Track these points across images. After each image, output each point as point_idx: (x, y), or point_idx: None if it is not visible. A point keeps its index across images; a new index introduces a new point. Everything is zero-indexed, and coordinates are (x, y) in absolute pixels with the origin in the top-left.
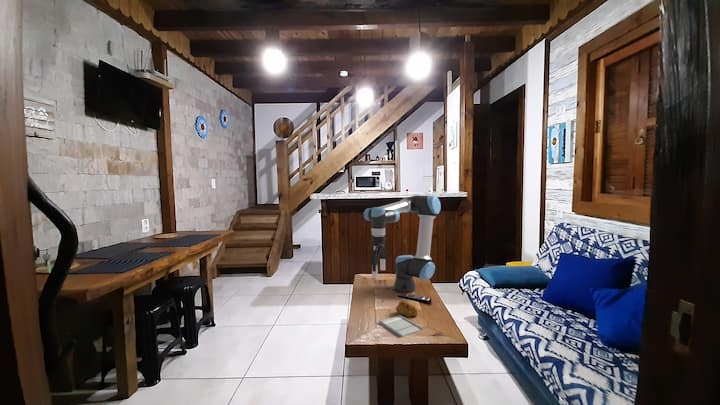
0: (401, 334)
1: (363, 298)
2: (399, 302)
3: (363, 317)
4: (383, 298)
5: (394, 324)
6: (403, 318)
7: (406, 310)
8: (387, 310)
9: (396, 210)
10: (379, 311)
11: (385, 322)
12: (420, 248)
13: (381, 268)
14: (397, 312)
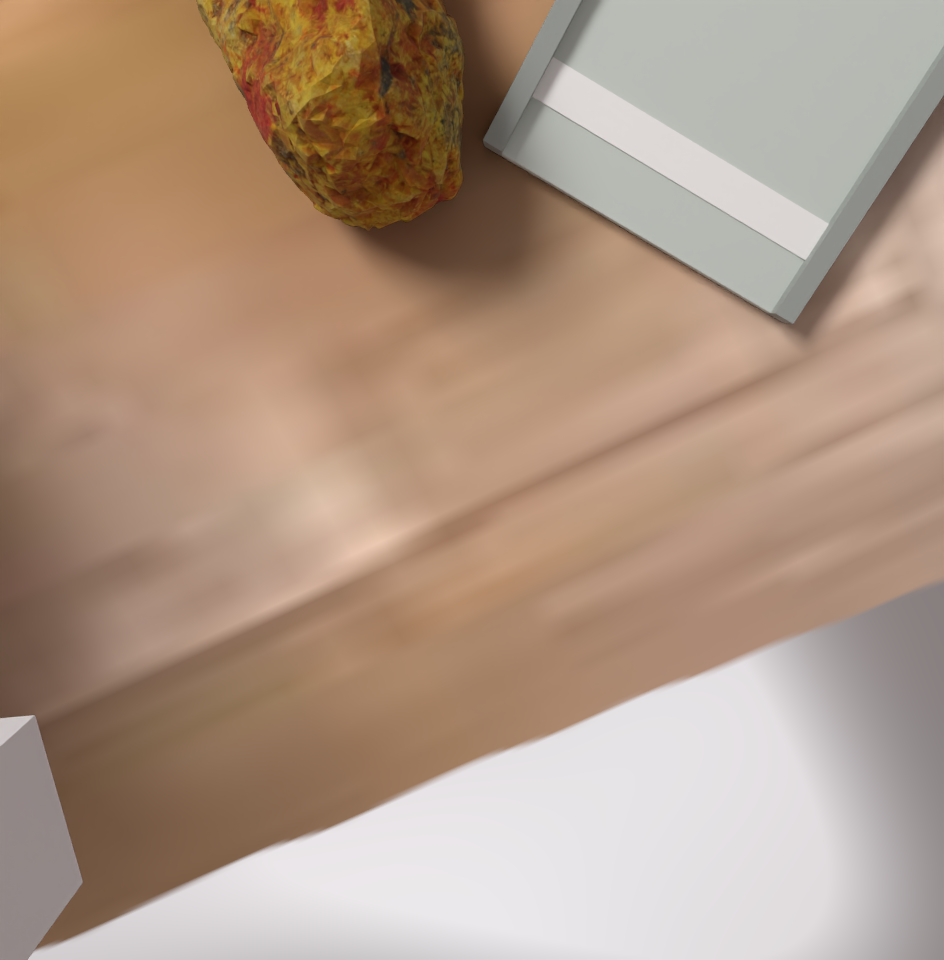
0: None
1: (190, 810)
2: (357, 159)
3: (713, 563)
4: (43, 593)
5: (786, 86)
6: (563, 35)
7: (438, 8)
8: (374, 382)
9: None
10: (455, 463)
11: (780, 228)
12: None
13: (27, 891)
14: (461, 178)
